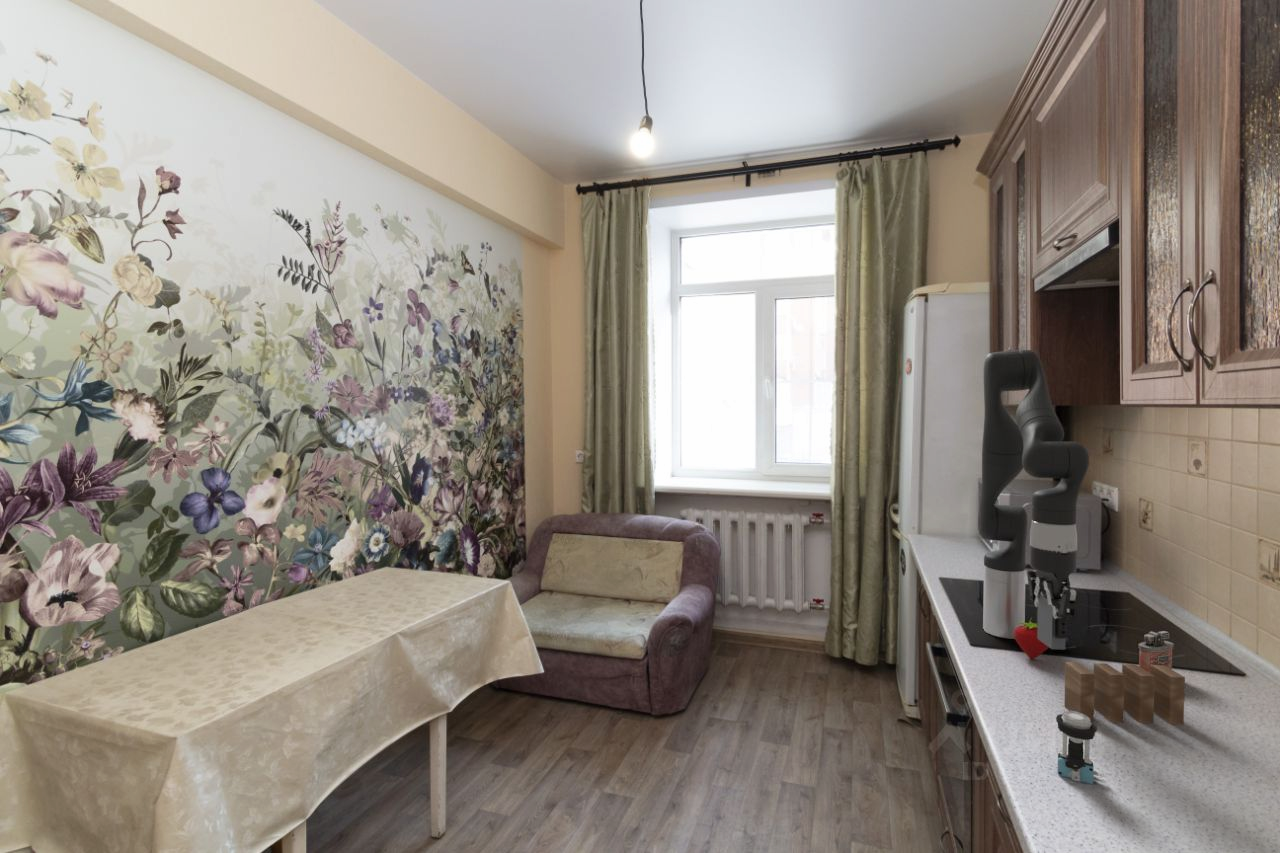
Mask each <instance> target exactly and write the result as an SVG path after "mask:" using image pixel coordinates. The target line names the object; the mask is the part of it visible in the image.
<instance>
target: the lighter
mask: <svg viewBox="0 0 1280 853" xmlns="http://www.w3.org/2000/svg"><path fill="white" fill-rule="evenodd" d="M1166 639H1170V633H1169V632H1168V631H1165V630H1163V631H1157V632H1155V631H1153V630H1152V631H1149V632H1148V633H1147V634H1144V641H1142V642H1139V643H1138V647H1137V648H1138V649H1139V654H1138V655H1139V657H1138V658H1139V659H1138V666H1139V667H1140V668H1142V669H1144V670H1145V671H1147V672H1149V673H1150V674H1151V665H1165V666H1166V667H1168V668H1170V669H1172V668H1173V666H1172V664H1173V649H1174V645H1175V644H1174V643H1173V642H1171V641H1168V640H1166ZM1172 670H1173V669H1172Z"/></svg>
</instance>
